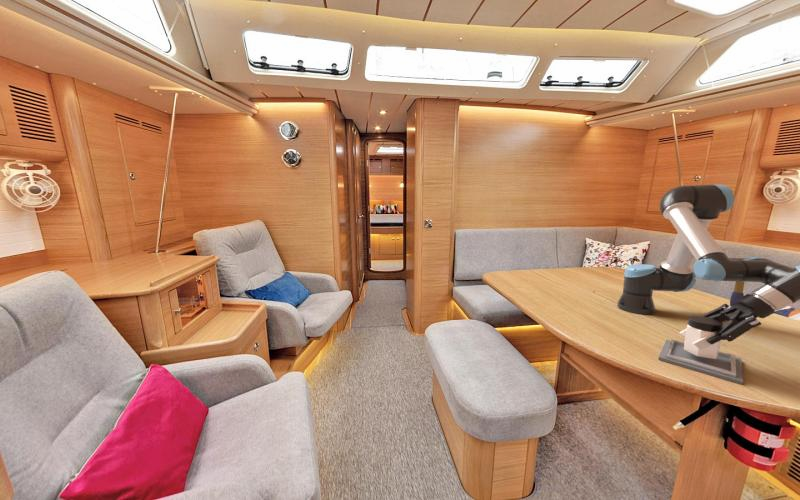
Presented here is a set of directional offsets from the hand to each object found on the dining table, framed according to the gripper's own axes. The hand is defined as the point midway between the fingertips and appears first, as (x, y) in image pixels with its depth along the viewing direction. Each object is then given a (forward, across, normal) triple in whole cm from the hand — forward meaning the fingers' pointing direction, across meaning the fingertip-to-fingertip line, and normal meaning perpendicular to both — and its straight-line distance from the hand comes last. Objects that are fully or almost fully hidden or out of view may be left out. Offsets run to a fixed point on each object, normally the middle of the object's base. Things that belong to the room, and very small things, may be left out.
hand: (689, 340), depth 98 cm
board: (+2, 0, -7) cm, 8 cm away
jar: (0, 0, -5) cm, 5 cm away
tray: (+2, 0, -7) cm, 8 cm away
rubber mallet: (-20, +46, -30) cm, 58 cm away
